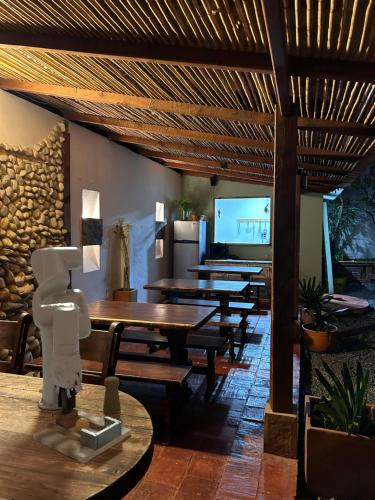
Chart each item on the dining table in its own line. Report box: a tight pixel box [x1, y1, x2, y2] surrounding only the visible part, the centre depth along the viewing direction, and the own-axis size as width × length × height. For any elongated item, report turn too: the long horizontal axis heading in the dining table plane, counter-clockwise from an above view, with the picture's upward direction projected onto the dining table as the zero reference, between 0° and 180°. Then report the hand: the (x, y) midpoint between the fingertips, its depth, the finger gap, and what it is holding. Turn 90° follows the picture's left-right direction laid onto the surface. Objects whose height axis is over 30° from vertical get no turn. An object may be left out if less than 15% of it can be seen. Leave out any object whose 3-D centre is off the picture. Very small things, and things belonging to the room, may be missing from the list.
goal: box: [80, 416, 122, 451], centre depth 111 cm, size 6×10×4 cm, turn 146°
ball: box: [75, 418, 89, 432], centre depth 115 cm, size 4×4×4 cm
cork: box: [102, 376, 122, 414], centre depth 134 cm, size 6×6×11 cm
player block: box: [55, 388, 79, 429], centre depth 119 cm, size 4×5×11 cm
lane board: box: [32, 410, 132, 464], centre depth 115 cm, size 22×18×3 cm
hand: (66, 406), depth 119 cm, fingers closed on player block, 3 cm apart
